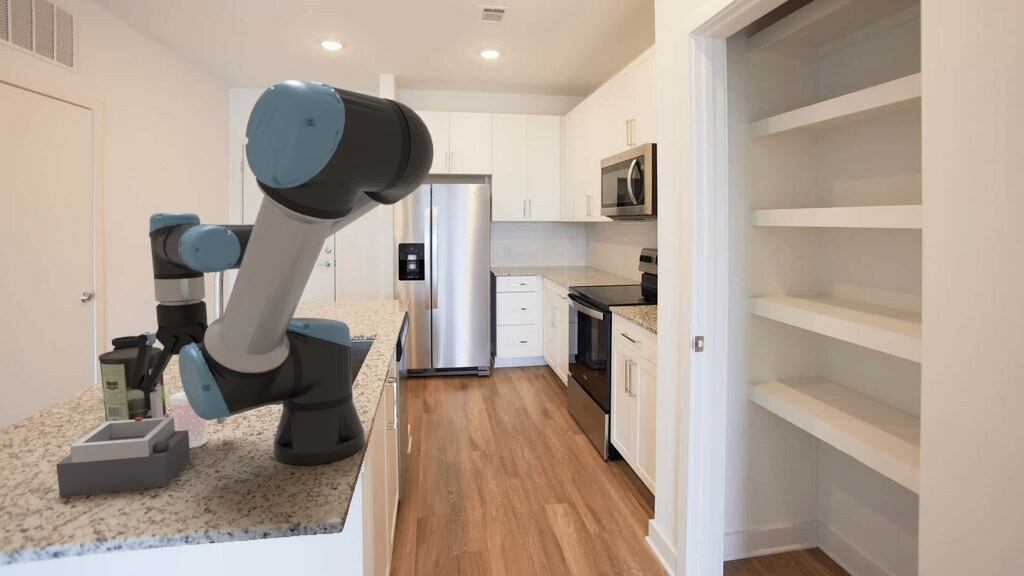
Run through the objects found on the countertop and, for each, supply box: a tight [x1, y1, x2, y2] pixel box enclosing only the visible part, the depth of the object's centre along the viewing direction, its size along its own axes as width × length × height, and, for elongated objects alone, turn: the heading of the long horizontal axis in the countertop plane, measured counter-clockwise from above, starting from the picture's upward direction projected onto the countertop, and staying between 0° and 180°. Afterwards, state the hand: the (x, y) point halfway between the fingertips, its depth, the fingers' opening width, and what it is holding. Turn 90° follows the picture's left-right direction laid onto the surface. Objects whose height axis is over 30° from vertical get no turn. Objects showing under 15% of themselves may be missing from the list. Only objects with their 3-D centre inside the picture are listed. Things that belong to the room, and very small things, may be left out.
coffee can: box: [98, 346, 168, 422], centre depth 108 cm, size 10×10×14 cm
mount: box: [55, 416, 191, 498], centre depth 84 cm, size 14×10×8 cm
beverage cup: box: [168, 391, 208, 449], centre depth 97 cm, size 6×6×14 cm
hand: (190, 423), depth 97 cm, fingers open, 10 cm apart
